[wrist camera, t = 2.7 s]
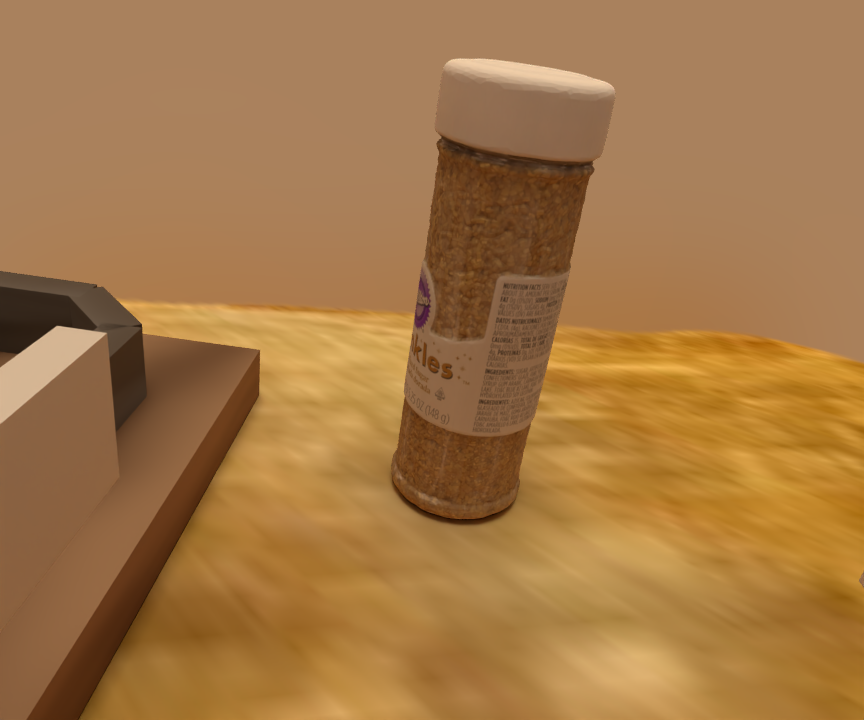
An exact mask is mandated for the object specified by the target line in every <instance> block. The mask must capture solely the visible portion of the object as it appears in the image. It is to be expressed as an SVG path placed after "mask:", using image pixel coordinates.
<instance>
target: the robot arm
mask: <svg viewBox="0 0 864 720" xmlns="http://www.w3.org/2000/svg"><path fill="white" fill-rule="evenodd" d="M118 478H119V465H118V454H117V442H116V430H115V419H114V407H113V395H112V384H111V372H110V361H109V349H108V337H107V333H103V332H96V331H89V330H83V329H76V328H69V327H62V326H56V327H55V328H54V329H52V330H51V331H50V332H48V333H47V334H45V335H44V336H43V337H41V338H40V339H39V340H37V341H36V342H34V343H33V344H32V345H30V346H29V347H28V348H26V349H25V350H23V351H22V352H21V353H19V354H18V355H17V356H15V357H14V358H13V359H11V360H10V361H8V362H7V363H6V364H4V365H3V366H2V367H0V632H1V631H2V629H3V628H4V627H5V625H6V624H7V623H8V622H9V620H10V619H11V618H12V616H13V615H14V614H15V612H16V611H17V610H18V609H19V607H20V606H21V605H22V603H23V602H24V601H25V599H26V598H27V597H28V596H29V594H30V593H31V592H32V590H33V589H34V588H35V586H36V585H37V584H38V583H39V581H40V580H41V579H42V577H43V576H44V575H45V573H46V572H47V571H48V569H49V568H50V567H51V566H52V564H53V563H54V562H55V560H56V559H57V558H58V556H59V555H60V554H61V553H62V551H63V550H64V549H65V547H66V546H67V545H68V543H69V542H70V541H71V540H72V538H73V537H74V536H75V534H76V533H77V532H78V530H79V529H80V528H81V527H82V525H83V524H84V523H85V521H86V520H87V519H88V517H89V516H90V515H91V513H92V512H93V511H94V510H95V508H96V507H97V506H98V504H99V503H100V502H101V500H102V499H103V498H104V497H105V495H106V494H107V493H108V491H109V490H110V489H111V487H112V486H113V485H114V484H115V482H116V481H117V480H118ZM859 582H860V583H861V584H862V586H863V587H864V572H863V574H862V576H861V578H860V579H859Z"/></svg>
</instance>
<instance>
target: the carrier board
mask: <svg viewBox="0 0 864 720" xmlns="http://www.w3.org/2000/svg"><path fill="white" fill-rule="evenodd" d="M56 326H62V327H69V328H76V329H83V330H89V331H96V332H103V333H107V337H108V349H109V361H110V372H111V384H112V395H113V407H114V419H115V430H116V442H117V454H118V465H119V478H118V480H117V481H116V482H115V484H114V485H113V486H112V487H111V489H110V490H109V491H108V493H107V494H106V495H105V497H104V498H103V499H102V500H101V502H100V503H99V504H98V506H97V507H96V508H95V510H94V511H93V512H92V513H91V515H90V516H89V517H88V519H87V520H86V521H85V523H84V524H83V525H82V527H81V528H80V529H79V530H78V532H77V533H76V534H75V536H74V537H73V538H72V540H71V541H70V542H69V543H68V545H67V546H66V547H65V549H64V550H63V551H62V553H61V554H60V555H59V556H58V558H57V559H56V560H55V562H54V563H53V564H52V566H51V567H50V568H49V569H48V571H47V572H46V573H45V575H44V576H43V577H42V579H41V580H40V581H39V583H38V584H37V585H36V586H35V588H34V589H33V590H32V592H31V593H30V594H29V596H28V597H27V598H26V599H25V601H24V602H23V603H22V605H21V606H20V607H19V609H18V610H17V611H16V612H15V614H14V615H13V616H12V618H11V619H10V620H9V622H8V623H7V624H6V625H5V627H4V628H3V629H2V631H1V632H0V720H78V718H79V716H80V715H81V713H82V711H83V709H84V707H85V706H86V704H87V702H88V700H89V698H90V697H91V695H92V693H93V691H94V690H95V688H96V686H97V684H98V682H99V681H100V679H101V677H102V675H103V673H104V672H105V670H106V668H107V666H108V664H109V663H110V661H111V659H112V657H113V655H114V654H115V652H116V650H117V648H118V646H119V645H120V643H121V641H122V639H123V638H124V636H125V634H126V632H127V630H128V629H129V627H130V625H131V623H132V621H133V620H134V618H135V616H136V614H137V612H138V611H139V609H140V607H141V605H142V603H143V602H144V600H145V598H146V596H147V594H148V593H149V591H150V589H151V587H152V586H153V584H154V582H155V580H156V578H157V577H158V575H159V573H160V571H161V569H162V568H163V566H164V564H165V562H166V560H167V559H168V557H169V555H170V553H171V551H172V550H173V548H174V546H175V544H176V542H177V541H178V539H179V537H180V535H181V534H182V532H183V530H184V528H185V526H186V525H187V523H188V521H189V519H190V517H191V516H192V514H193V512H194V510H195V508H196V507H197V505H198V503H199V501H200V499H201V498H202V496H203V494H204V492H205V490H206V489H207V487H208V485H209V483H210V482H211V480H212V478H213V476H214V474H215V473H216V471H217V469H218V467H219V465H220V464H221V462H222V460H223V458H224V456H225V455H226V453H227V451H228V449H229V447H230V446H231V444H232V442H233V440H234V438H235V437H236V435H237V433H238V431H239V430H240V428H241V426H242V424H243V422H244V421H245V419H246V417H247V415H248V413H249V412H250V410H251V408H252V406H253V404H254V403H255V401H256V399H257V397H258V395H259V371H260V350H256V349H249V348H242V347H234V346H227V345H220V344H213V343H205V342H198V341H191V340H184V339H177V338H169V337H162V336H155V335H148V334H142V324H141V323H140V322H139V321H138V320H137V319H136V318H135V317H134V316H133V315H132V314H131V313H130V312H129V311H128V310H127V309H125V308H124V307H123V306H122V305H121V304H120V303H119V302H118V301H117V300H116V299H115V298H114V297H113V296H112V295H111V294H110V293H109V292H108V291H107V290H106V289H105V288H103V287H97V285H96V284H89V283H82V282H74V281H67V280H60V279H53V278H46V277H38V276H31V275H24V274H17V273H10V272H3V271H0V367H2V366H3V365H4V364H6V363H7V362H8V361H10V360H11V359H13V358H14V357H15V356H17V355H18V354H19V353H21V352H22V351H23V350H25V349H26V348H28V347H29V346H30V345H32V344H33V343H34V342H36V341H37V340H39V339H40V338H41V337H43V336H44V335H45V334H47V333H48V332H50V331H51V330H52V329H54V328H55V327H56Z"/></svg>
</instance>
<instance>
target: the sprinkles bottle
mask: <svg viewBox="0 0 864 720" xmlns="http://www.w3.org/2000/svg"><path fill="white" fill-rule="evenodd" d="M614 101H615V90H614V88H613V86H611V85H610V84H609V83H607V82H604V81H602V80H598V79H594V78H590V77H589V76H586V75H582V74H578V73H574V72H569V71H564V70H558V69H553V68H548V67H541V66H535V65H529V64H522V63H516V62H507V61H501V60H491V59H454V60H450V61H449V62H447V63H446V64H445V66H444V68H443V73H442V79H441V84H440V91H439V97H438V104H437V112H436V120H435V130H436V132H437V133H438V134H440V136H441V137H442V138H441V139H439V141H438V142H437V147H438V150H439V157H438V163H439V164H438V166H437V172H436V177H435V178H436V180H435V189H434V195H433V200H432V205H431V214H430V228H429V231H428V237H427V246H426V255H425V258H424V260H423V262H422V267H421V274H420V282H419V290H418V297H417V304H416V311H415V319H414V326H413V333H412V340H411V346H410V352H409V358H408V365H407V372H406V378H405V386H404V394H405V399H404V406H403V412H402V420H401V427H400V434H399V443H398V448H397V450H396V451H395V453H394V455H393V460H392V465H391V471H392V476H393V482H394V483H395V485H396V486H397V488H398V489H399V491H400V492H401V493H402V494H403V495H404V496H405V497H406V498H407V499H408V500H409V501H410V502H412V503H414V504H416V505H417V506H418V507H419V508H421V509H423V510H425V511H427V512H430V513H433V514H437V515H440V516H443V517H447V518H453V519H476V518H483V517H486V516H489V515H491V514H494V513H498V512H500V511H502V510H504V509H505V508H507V507H508V506H509V505H510V504H511V503H512V502H513V501H514V500H515V498H516V495H517V492H518V488H519V483H520V480H519V470H520V465H521V462H522V457H523V452H524V448H525V445H526V439H527V436H528V432H529V429H530V425H531V421H532V420H533V418H534V416H535V413H536V409H537V405H538V401H539V397H540V393H541V388H542V384H543V380H544V376H545V372H546V368H547V364H548V360H549V356H550V352H551V348H552V344H553V339H554V335H555V331H556V327H557V323H558V318H559V314H560V310H561V305H562V301H563V297H564V293H565V289H566V285H567V281H568V277H569V273H570V268H571V266H570V259H571V256H572V252H573V246H574V242H575V237H576V233H577V230H578V226H579V222H580V218H581V212H582V207H583V203H584V201H585V194H586V188H587V185H588V181H589V177H590V176H591V175H592V173H593V172H594V168H593V166H592V165H593V161H594V160H595V159H597V158H599V157H600V156H601V154H602V152H603V148H604V145H605V141H606V137H607V133H608V129H609V124H610V120H611V115H612V110H613V105H614Z"/></svg>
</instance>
